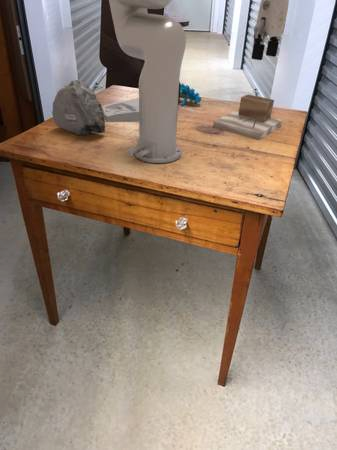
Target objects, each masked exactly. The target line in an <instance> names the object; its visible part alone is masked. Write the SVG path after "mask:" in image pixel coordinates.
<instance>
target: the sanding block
mask: <svg viewBox="0 0 337 450" xmlns="http://www.w3.org/2000/svg"><path fill="white" fill-rule="evenodd" d="M274 104H275V99H272V98H268V97H264V96H263V97H262V96H257V95H254V94H245V95H244V96H241V98H240V103H239V109H238V110H239V114H238V116H239V117H243V118H247V119H251V120H255V121H259V122H263V123H264V122H266V121H268V120H269V119H270V118H272V114H273V113H272V112H273V107H274Z"/></svg>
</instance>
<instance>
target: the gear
mask: <svg viewBox="0 0 337 450" xmlns="http://www.w3.org/2000/svg"><path fill="white" fill-rule="evenodd" d="M180 86H181V89H180V95H179V96H180V98H179V99H183V100H182V102H180V104H181V106H184V105H185V104H186V102H187V101H188V100H189V101H190V102H194V103H195V104H198V103H200V102H201V101H202V97H201V96H200V93H199V92H195V91H196V90H195V89H194V88H190V86H189V85H187V84H186V85H185V84H184V83H181V85H180Z"/></svg>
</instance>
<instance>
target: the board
mask: <svg viewBox="0 0 337 450" xmlns="http://www.w3.org/2000/svg"><path fill="white" fill-rule="evenodd" d="M238 114H239V109H236V110H234V111H232V112H229V113H228V114H225V115H224V116H221V117H219V118H216V119H215V120H213V123H212V125H213V126H212V128H215V129H219V130H223V131H225V132H226V131H227V132H229V133H232V134H233V133H234V134H237V135H240V136H243V137H248V138H252V139H255V140H257V141H260V140H262V139H263V138H265V137H267V136H268V135H270V134H272V133H273V132H275V131H276V130H277V129H279V128H281V127H282V123H283V120H282V119H279V118H275V117H271V118H270V119H269V120H268V121H266V122H264V123H263V122H259V121H255V120H251V119H247V118H243V117H239V116H238Z"/></svg>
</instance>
